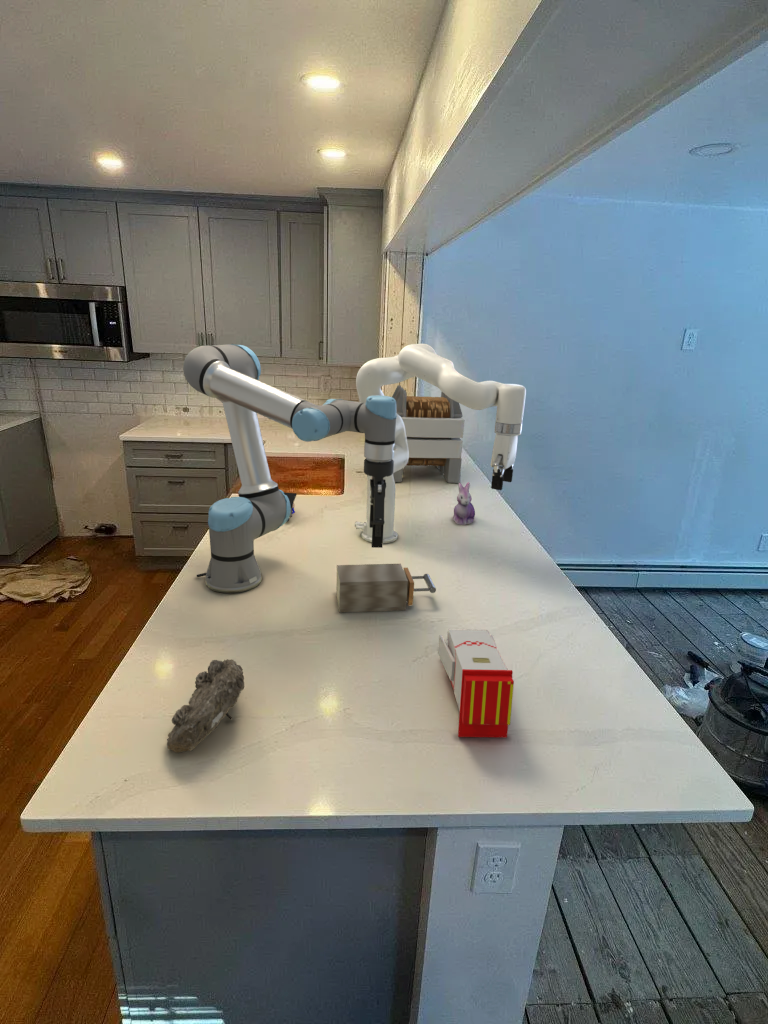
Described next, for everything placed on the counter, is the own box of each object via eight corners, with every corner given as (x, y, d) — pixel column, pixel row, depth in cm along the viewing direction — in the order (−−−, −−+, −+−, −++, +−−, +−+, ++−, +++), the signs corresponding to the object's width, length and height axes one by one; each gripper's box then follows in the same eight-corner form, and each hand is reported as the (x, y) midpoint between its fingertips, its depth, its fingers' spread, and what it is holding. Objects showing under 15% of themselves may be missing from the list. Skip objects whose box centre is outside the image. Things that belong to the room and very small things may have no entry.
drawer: (427, 588, 160) (429, 566, 157) (435, 604, 151) (437, 581, 149) (347, 591, 156) (348, 568, 154) (351, 607, 148) (351, 584, 145)
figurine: (460, 527, 208) (464, 488, 203) (445, 518, 217) (448, 480, 212) (481, 523, 212) (485, 485, 207) (465, 515, 221) (469, 478, 216)
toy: (488, 613, 130) (523, 677, 101) (484, 667, 133) (517, 744, 104) (435, 612, 130) (455, 676, 101) (432, 666, 133) (451, 743, 103)
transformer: (382, 463, 289) (386, 382, 275) (445, 464, 293) (451, 384, 279) (390, 482, 257) (394, 392, 243) (460, 483, 261) (468, 394, 247)
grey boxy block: (399, 591, 159) (400, 563, 156) (405, 610, 150) (407, 580, 147) (336, 593, 156) (336, 565, 153) (339, 612, 147) (339, 582, 144)
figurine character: (292, 527, 205) (297, 509, 218) (292, 508, 201) (297, 491, 215) (273, 526, 205) (280, 508, 218) (273, 507, 201) (279, 490, 215)
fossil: (192, 660, 117) (244, 628, 112) (224, 691, 120) (276, 661, 115) (142, 746, 98) (202, 712, 93) (182, 779, 101) (242, 748, 96)
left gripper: (398, 472, 131) (393, 556, 138) (390, 447, 155) (386, 520, 162) (365, 472, 131) (362, 556, 138) (362, 446, 154) (360, 519, 161)
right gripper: (504, 422, 172) (498, 476, 177) (485, 431, 157) (479, 490, 163) (528, 425, 168) (521, 480, 174) (512, 435, 154) (505, 494, 160)
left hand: (375, 536), depth 150 cm, fingers open, 13 cm apart
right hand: (501, 485), depth 169 cm, fingers open, 9 cm apart
